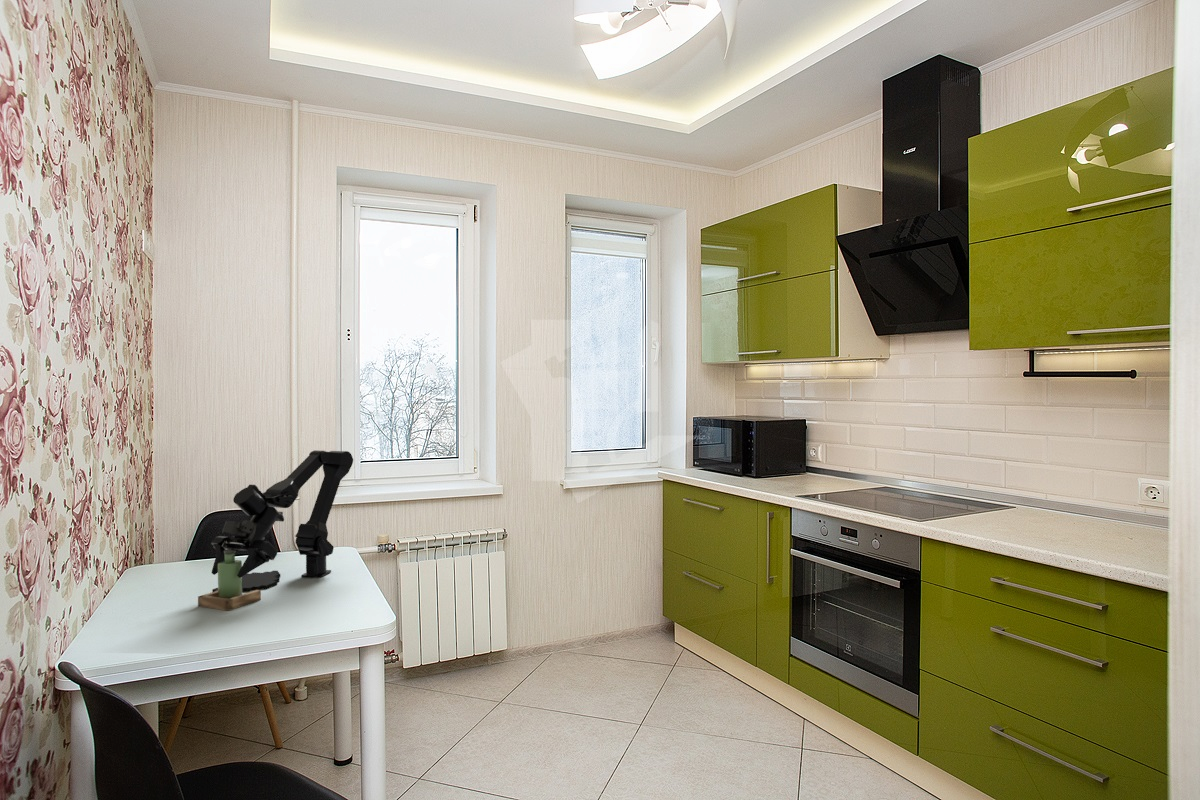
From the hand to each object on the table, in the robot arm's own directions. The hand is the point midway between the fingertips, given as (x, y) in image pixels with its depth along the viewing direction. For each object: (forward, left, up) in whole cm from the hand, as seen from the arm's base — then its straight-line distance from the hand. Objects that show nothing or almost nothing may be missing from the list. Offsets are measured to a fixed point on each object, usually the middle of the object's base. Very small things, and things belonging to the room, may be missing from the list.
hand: (225, 575), depth 182 cm
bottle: (-1, 0, -7) cm, 7 cm away
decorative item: (-19, -7, -8) cm, 22 cm away
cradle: (-1, 0, -8) cm, 8 cm away
